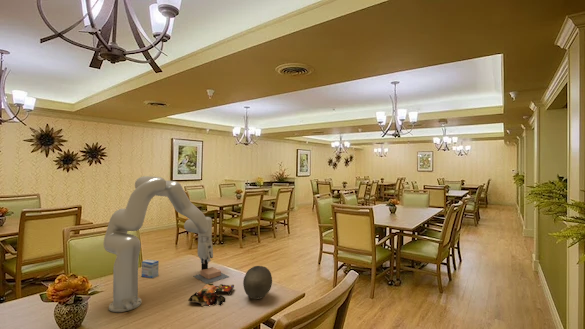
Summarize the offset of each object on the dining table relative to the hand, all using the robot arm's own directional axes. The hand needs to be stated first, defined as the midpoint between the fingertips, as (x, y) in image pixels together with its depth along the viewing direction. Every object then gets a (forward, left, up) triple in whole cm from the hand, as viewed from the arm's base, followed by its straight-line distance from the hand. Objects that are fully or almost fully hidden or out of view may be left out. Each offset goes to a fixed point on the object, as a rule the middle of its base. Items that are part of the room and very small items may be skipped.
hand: (204, 269), depth 170 cm
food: (-29, +13, -3) cm, 32 cm away
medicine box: (+17, +24, -2) cm, 30 cm away
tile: (-2, 0, 0) cm, 2 cm away
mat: (-8, 0, -2) cm, 8 cm away
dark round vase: (-47, -1, -2) cm, 47 cm away
